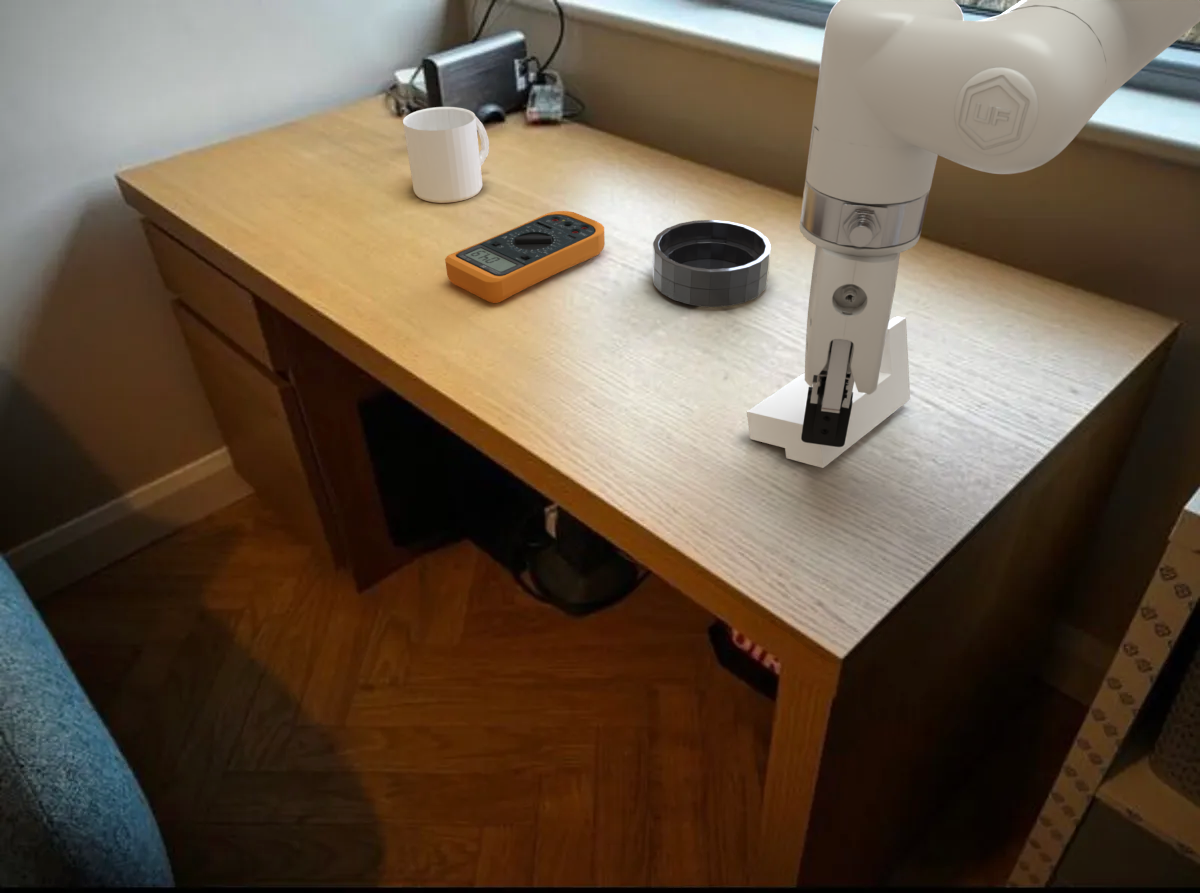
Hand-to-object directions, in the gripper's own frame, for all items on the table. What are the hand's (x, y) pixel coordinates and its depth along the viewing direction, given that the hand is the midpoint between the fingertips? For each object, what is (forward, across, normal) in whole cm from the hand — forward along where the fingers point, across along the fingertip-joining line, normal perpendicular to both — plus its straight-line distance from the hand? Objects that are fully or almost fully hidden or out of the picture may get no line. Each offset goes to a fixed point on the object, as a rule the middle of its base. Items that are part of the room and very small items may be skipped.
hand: (822, 438), depth 68 cm
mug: (+5, +50, +50) cm, 71 cm away
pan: (+4, +31, +13) cm, 34 cm away
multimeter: (+5, +30, +33) cm, 45 cm away
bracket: (+5, +9, 0) cm, 10 cm away
